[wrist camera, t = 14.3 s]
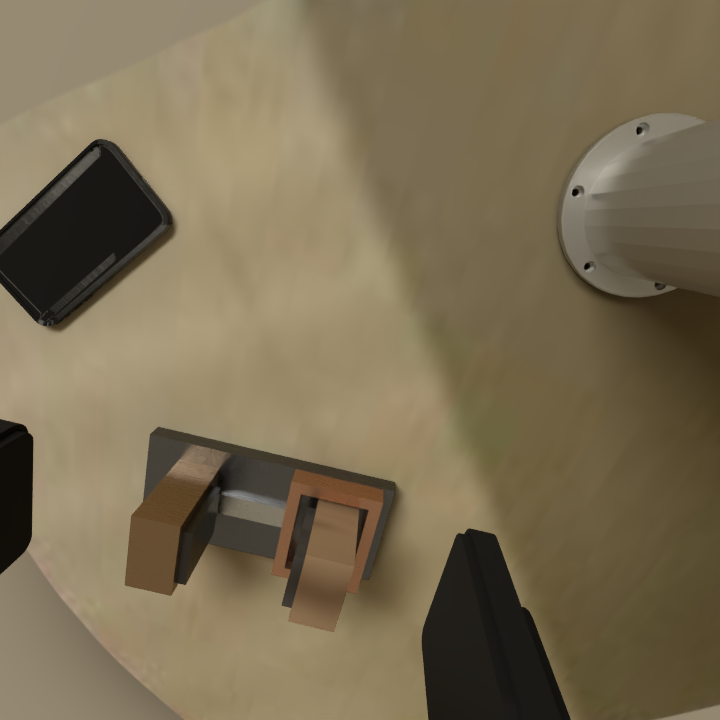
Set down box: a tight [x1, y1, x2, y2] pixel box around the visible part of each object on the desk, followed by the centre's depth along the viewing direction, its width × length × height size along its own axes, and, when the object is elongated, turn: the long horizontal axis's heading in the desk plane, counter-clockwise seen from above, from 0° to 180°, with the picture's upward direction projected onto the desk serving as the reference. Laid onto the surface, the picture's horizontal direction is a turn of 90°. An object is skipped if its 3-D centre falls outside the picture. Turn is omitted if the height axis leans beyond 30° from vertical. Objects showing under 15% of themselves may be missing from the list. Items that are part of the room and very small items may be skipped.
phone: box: [0, 139, 172, 326], centre depth 36 cm, size 8×1×15 cm
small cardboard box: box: [282, 499, 359, 632], centre depth 38 cm, size 6×4×8 cm
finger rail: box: [125, 427, 395, 596], centre depth 38 cm, size 22×10×10 cm, turn 77°
